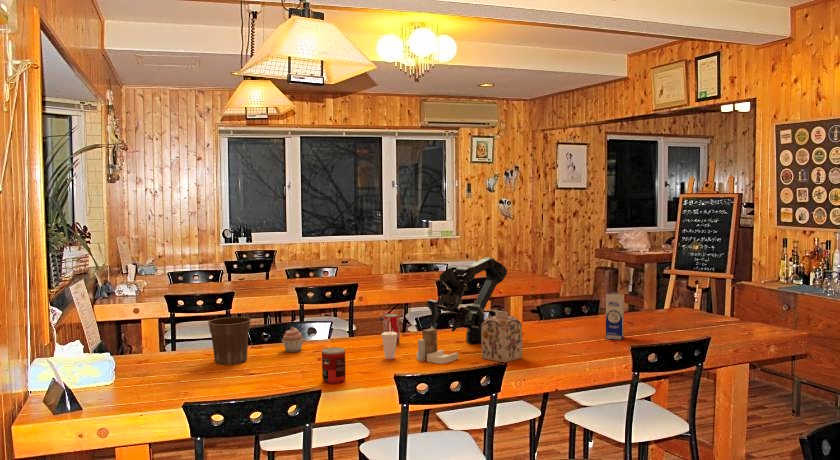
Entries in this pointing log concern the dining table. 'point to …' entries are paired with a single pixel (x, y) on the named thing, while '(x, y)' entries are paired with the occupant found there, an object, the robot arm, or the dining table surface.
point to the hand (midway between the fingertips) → (442, 328)
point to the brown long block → (430, 341)
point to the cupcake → (293, 340)
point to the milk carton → (614, 316)
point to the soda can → (392, 324)
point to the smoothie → (389, 343)
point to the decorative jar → (501, 338)
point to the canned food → (333, 365)
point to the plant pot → (230, 339)
